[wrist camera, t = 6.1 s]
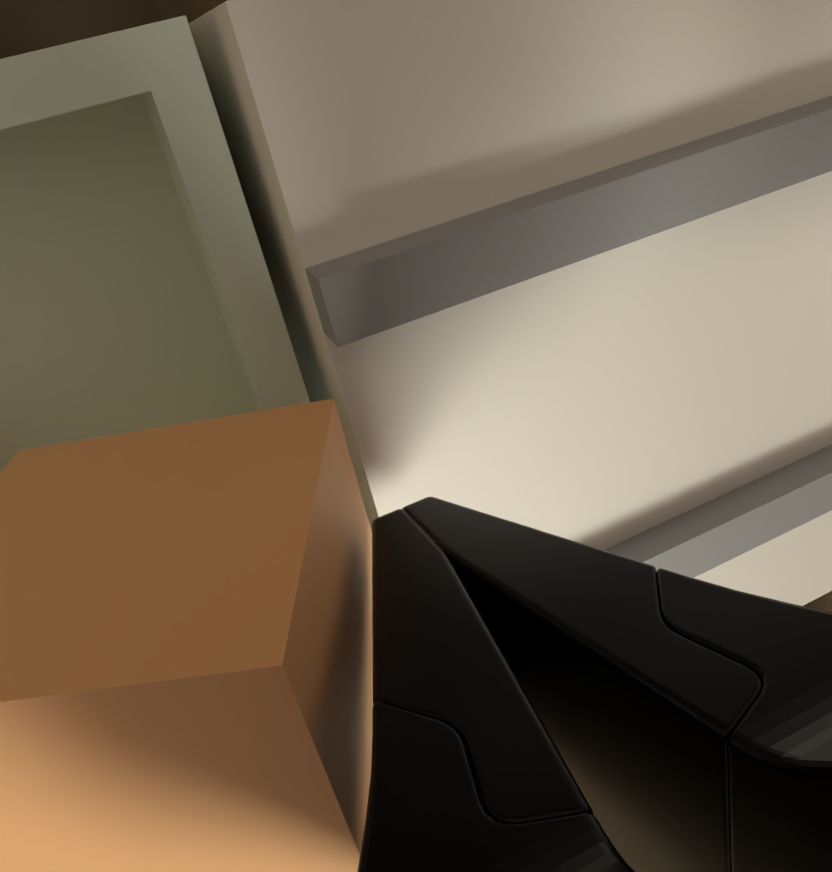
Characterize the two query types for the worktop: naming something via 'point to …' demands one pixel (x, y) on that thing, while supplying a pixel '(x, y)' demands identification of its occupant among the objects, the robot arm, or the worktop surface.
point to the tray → (127, 248)
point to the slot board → (558, 260)
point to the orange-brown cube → (186, 649)
